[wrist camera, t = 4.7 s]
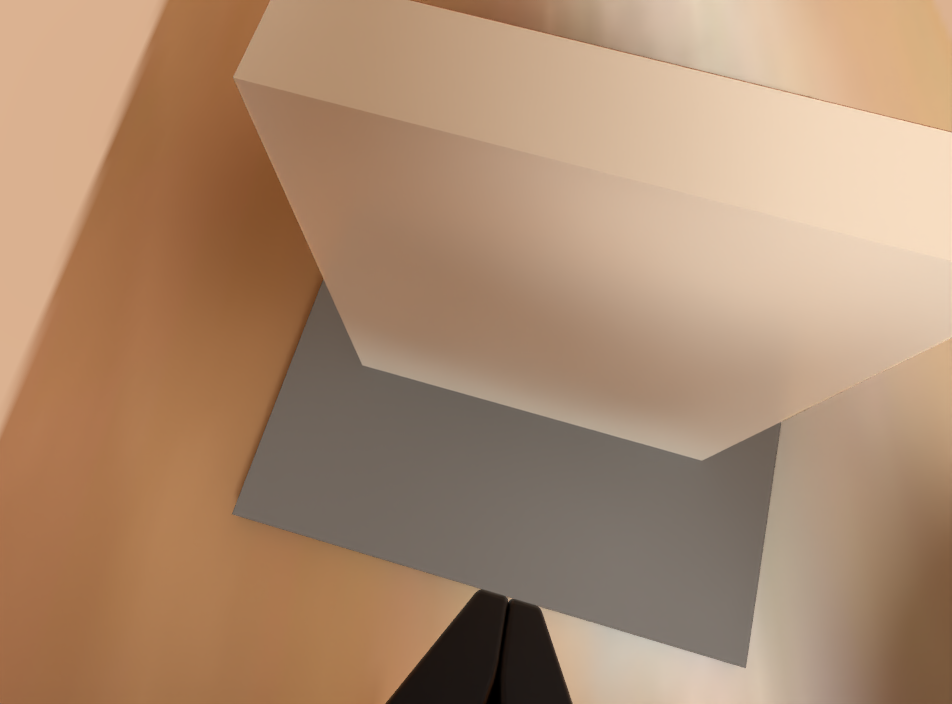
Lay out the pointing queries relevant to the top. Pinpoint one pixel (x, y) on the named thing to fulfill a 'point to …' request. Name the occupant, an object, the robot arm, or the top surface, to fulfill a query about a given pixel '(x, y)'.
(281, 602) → the top surface
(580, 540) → the mat
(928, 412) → the top surface
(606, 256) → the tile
